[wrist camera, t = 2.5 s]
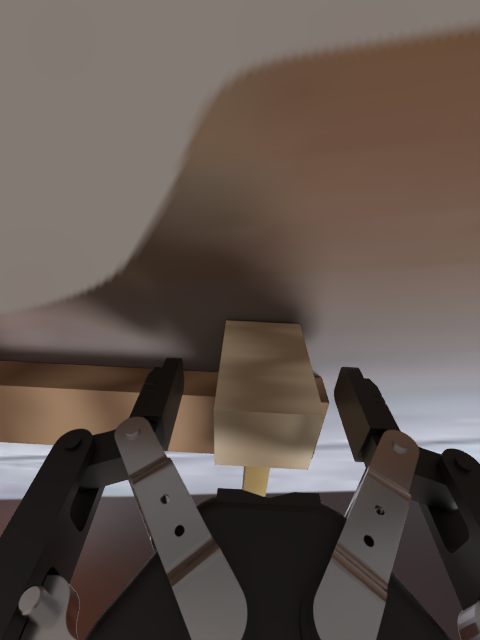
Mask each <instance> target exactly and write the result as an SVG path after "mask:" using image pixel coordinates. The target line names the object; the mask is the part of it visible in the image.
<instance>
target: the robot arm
mask: <svg viewBox="0 0 480 640" xmlns="http://www.w3.org/2000/svg"><path fill="white" fill-rule="evenodd" d="M183 391H184V371H183V360H182V358H166V360H165V363H164V365H163V368H160V367H155V368H154V369H153V370H152V371H151V372H150V373H149V374H148V376H147V378H146V380H145V382H144V385H143V387H142V389H141V392H140V394H139V396H138V398H137V401H136V403H135V405H134V407H133V410H132V412H131V414H130V416H129V418H128V419H126V420H124V421H123V422H122V423H121V424H119V426H118V427H117V428H116V429H114V430H112V431H108V432H104V433H100V434H95V435H92V434H91V432H90V431H89V430H87V429H74V430H71V431H69V432H67V433H65V434H64V435H62V436H61V437H60V438H59V439H58V440H57V441H56V442H55V444H54V446H53V447H52V449H51V451H50V453H49V454H48V456H47V458H46V459H45V461H44V463H43V465H42V466H41V468H40V470H39V472H38V473H37V475H36V477H35V478H34V480H33V482H32V484H31V485H30V487H29V489H28V491H27V492H26V494H25V496H24V497H23V499H22V501H21V503H20V505H19V506H18V508H17V510H16V511H15V513H14V515H13V516H12V518H11V520H10V522H9V523H8V525H7V527H6V529H5V530H4V532H3V534H2V535H1V537H0V640H79V639H78V637H77V633H76V623H77V618H78V613H79V598H78V595H77V593H76V592H75V590H74V589H73V588H72V587H71V586H70V585H69V584H70V581H71V579H72V576H73V573H74V570H75V568H76V565H77V562H78V559H79V557H80V554H81V551H82V548H83V546H84V543H85V540H86V537H87V535H88V532H89V529H90V526H91V524H92V521H93V518H94V515H95V512H96V510H97V507H98V504H99V501H100V498H101V496H102V493H103V490H104V488H105V486H107V485H110V484H114V483H117V482H121V481H124V480H129V483H130V486H131V488H132V491H133V494H134V496H135V499H136V502H137V505H138V507H139V510H140V513H141V515H142V518H143V521H144V524H145V527H146V529H147V532H148V535H149V538H150V541H151V543H152V546H153V548H154V551H155V553H154V554H153V555H152V556H151V557H150V559H149V560H148V561H147V562H146V563H145V564H144V566H143V567H142V568H141V569H140V571H139V572H138V573H137V574H136V575H135V576H134V577H133V579H132V580H131V581H130V582H129V583H128V585H127V586H126V587H125V588H124V589H123V591H122V592H121V593H120V594H119V595H118V597H117V598H116V599H115V600H114V601H113V602H112V604H111V605H110V606H109V607H108V608H107V609H106V611H105V612H104V613H103V614H102V615H101V617H100V618H99V619H98V620H97V622H96V623H95V624H94V626H93V627H92V628H91V630H90V631H89V633H88V635H87V636H86V638H85V640H452V639H451V638H450V637H449V636H448V635H447V634H446V632H445V631H444V630H443V629H442V628H441V627H440V626H439V624H438V623H437V622H436V621H435V620H434V619H433V617H432V616H431V615H430V614H429V613H428V612H427V611H426V609H425V608H424V607H423V606H422V605H421V604H420V602H419V601H418V600H417V599H416V598H415V597H414V595H413V594H412V593H411V592H410V591H409V590H408V589H407V587H406V586H405V585H404V584H403V583H402V582H401V580H400V579H399V578H398V577H397V576H396V575H395V574H394V572H393V571H392V567H393V564H394V560H395V556H396V552H397V548H398V545H399V541H400V537H401V534H402V530H403V526H404V522H405V519H406V515H407V511H408V507H409V503H410V500H411V499H412V500H415V501H417V502H419V505H420V507H421V510H422V512H423V515H424V517H425V519H426V522H427V524H428V527H429V529H430V532H431V533H432V536H433V539H434V541H435V544H436V546H437V548H438V551H439V553H440V555H441V558H442V561H443V563H444V565H445V568H446V570H447V573H448V575H449V578H450V580H451V582H452V585H453V587H454V590H455V592H456V595H457V597H458V599H459V602H460V604H461V607H462V609H463V611H462V612H461V613H460V615H459V617H458V630H459V634H460V637H461V640H480V464H479V463H478V462H477V461H476V460H475V459H474V458H473V457H471V456H470V455H468V454H467V453H465V452H463V451H461V450H457V449H446V450H445V451H444V452H443V453H442V454H438V453H435V452H432V451H429V450H426V449H423V448H420V447H418V446H417V444H416V443H415V441H414V440H413V439H412V438H411V437H409V436H408V435H407V434H405V433H403V432H401V431H400V429H399V428H398V426H397V424H396V422H395V420H394V418H393V416H392V414H391V412H390V410H389V408H388V406H387V404H385V401H384V399H383V397H382V395H381V393H380V391H379V389H378V387H377V386H376V385H375V384H374V383H373V382H372V381H371V380H370V379H366V378H363V375H362V373H361V371H360V369H359V368H354V367H342V368H341V370H340V373H339V376H338V379H337V383H336V386H335V390H334V398H335V402H336V405H337V408H338V412H339V415H340V418H341V421H342V424H343V427H344V430H345V433H346V436H347V439H348V442H349V445H350V448H351V451H352V454H353V457H354V460H355V462H364V464H365V466H366V469H365V471H364V473H363V475H362V478H361V480H360V482H359V485H358V487H357V489H356V491H355V494H354V496H353V498H352V501H351V503H350V505H349V507H348V509H347V511H346V514H345V516H343V515H342V514H341V513H339V512H338V511H337V510H335V509H334V508H332V507H330V506H329V505H326V504H324V503H322V502H320V496H319V494H318V493H299V492H293V493H289V494H285V495H281V496H276V497H272V498H266V497H263V496H260V495H257V494H254V493H251V492H248V491H245V490H242V489H223V488H218V491H217V496H216V497H212V498H209V499H206V500H204V501H203V502H201V503H199V504H198V505H197V506H195V504H194V502H193V500H192V498H191V496H190V494H189V492H188V490H187V488H186V486H185V485H184V483H183V481H182V479H181V477H180V475H179V473H178V471H177V469H176V467H175V465H174V464H173V462H172V460H171V459H170V458H167V456H166V454H165V452H164V451H168V448H169V444H170V440H171V436H172V433H173V429H174V425H175V422H176V418H177V414H178V410H179V407H180V403H181V399H182V395H183Z"/></svg>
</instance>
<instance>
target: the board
mask: <svg viewBox="0 0 480 640" xmlns="http://www.w3.org/2000/svg"><path fill="white" fill-rule="evenodd" d="M152 370H153V369H148V368H129V367H110V366H91V365H72V364H53V363H33V362H14V361H0V442H8V443H27V444H45V445H54V444H55V442H56V441H57V440H58V439H59V438H60V437H61V436H62V435H64V434H65V433H67V432H69V431H71V430H74V429H87V430H89V431H90V432H91V434H92V435H95V434H100V433H104V432H108V431H112V430H114V429H116V428H117V427H118V426H119V424H121V423H122V422H123V421H124V420H126V419H128V418H129V416H130V414H131V412H132V410H133V407H134V405H135V403H136V401H137V398H138V396H139V394H140V392H141V389H142V387H143V385H144V382H145V380H146V378H147V376H148V374H149V373H150V372H151V371H152ZM183 371H184V391H183V395H182V399H181V403H180V407H179V410H178V414H177V418H176V422H175V425H174V429H173V433H172V436H171V440H170V444H169V448H168V451H173V452H192V453H210V454H214V404H215V397H216V390H217V382H218V375H219V372H205V371H186V370H183ZM314 378H315V382H316V386H317V389H318V393H319V397H320V401H321V404H322V408H323V412H324V419H325V415H326V412H327V409H328V406H329V400H328V397H327V393H326V390H325V387H324V383H323V380H322V378H320V377H314ZM324 419H323V422H324ZM323 422H322V425H323ZM321 428H322V426H321ZM320 432H321V429H320ZM320 432H319V435H320ZM318 438H319V436H318ZM317 441H318V439H317ZM316 444H317V442H316ZM315 448H316V445H315ZM314 451H315V449H314ZM313 454H314V452H313ZM312 457H313V455H312ZM311 459H312V458H311Z"/></svg>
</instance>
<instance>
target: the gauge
mask: <svg viewBox="0 0 480 640" xmlns="http://www.w3.org/2000/svg"><path fill="white" fill-rule="evenodd" d="M323 419H324V412H323V408H322V404H321V401H320V397H319V393H318V389H317V386H316V382H315V378H314V374H313V371H312V367H311V363H310V360H309V356H308V352H307V348H306V345H305V341H304V337H303V333H302V330H301V326H300V324H287V323H267V322H248V321H228V320H226V325H225V332H224V339H223V347H222V354H221V361H220V368H219V375H218V382H217V390H216V397H215V404H214V458H215V465H232V466H244V474H243V486H242V490H245V491H248V492H251V493H254V494H257V495H260V496H263V497H265V494H266V488H267V482H268V477H269V471H270V468H287V469H305V470H308V468H309V465H310V462H311V458H312V455H313V452H314V449H315V445H316V442H317V439H318V436H319V432H320V429H321V426H322V422H323Z"/></svg>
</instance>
